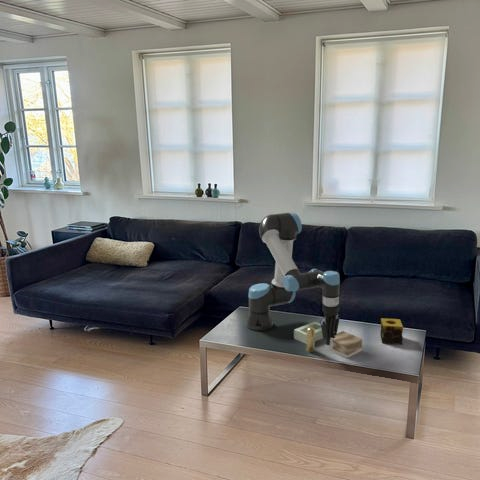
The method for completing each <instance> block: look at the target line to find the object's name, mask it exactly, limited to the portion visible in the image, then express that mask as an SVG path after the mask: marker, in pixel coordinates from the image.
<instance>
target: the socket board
mask: <svg viewBox="0 0 480 480" xmlns="http://www.w3.org/2000/svg"><path fill="white" fill-rule="evenodd" d="M307 327H314V328H315V343H316V342H317V341H320V340H322V339H324V338H323V335H322V329H321V324H320V322H317V321H312V322H310V323H307V324H304V325H302V326H299V327H297V328H295V329H294V330H293V338H294V340H296V341H298V342H301V343H303V344H305V345H306V338H307Z"/></svg>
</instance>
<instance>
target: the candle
mask: <svg viewBox="0 0 480 480" xmlns="http://www.w3.org/2000/svg"><path fill="white" fill-rule="evenodd" d="M403 330H404V326H403V324H402V321H401V319H398V318H385V317H384V318H383V317H382V318H380V333H379V334H380V339H381V343H382V344H386V345H387V344H388V345H400V346H401V345H402V346H403V332H404V331H403Z"/></svg>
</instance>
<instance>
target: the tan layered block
mask: <svg viewBox="0 0 480 480" xmlns="http://www.w3.org/2000/svg"><path fill="white" fill-rule="evenodd" d="M360 348H362V349H363V338H361V337H359V336H357V335H354V334H352V333H349V332H346V331H344V330H342V331H340V332H337V335H335V338H333V349H334V350H336V351H338V352H340V353H343V354H345V355H349V354H351V353H352V352H354V351H356V350H358V349H360Z"/></svg>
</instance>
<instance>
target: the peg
mask: <svg viewBox="0 0 480 480" xmlns="http://www.w3.org/2000/svg"><path fill="white" fill-rule="evenodd" d="M315 343H316V342H315V328H314V327H307V338H306V344H305V345H306V348H305V350H306V352H307V353H315Z"/></svg>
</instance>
